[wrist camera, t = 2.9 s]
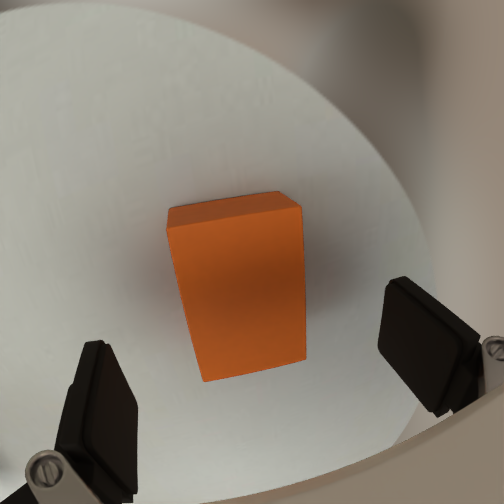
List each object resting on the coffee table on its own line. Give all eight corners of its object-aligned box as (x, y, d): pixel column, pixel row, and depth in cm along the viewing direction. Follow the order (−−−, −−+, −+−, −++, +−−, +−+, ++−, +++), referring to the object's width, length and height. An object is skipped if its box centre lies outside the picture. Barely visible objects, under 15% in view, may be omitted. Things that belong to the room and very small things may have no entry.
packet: (168, 208, 14) (165, 228, 11) (278, 190, 14) (302, 205, 12) (198, 344, 17) (203, 383, 14) (288, 326, 17) (306, 360, 15)
